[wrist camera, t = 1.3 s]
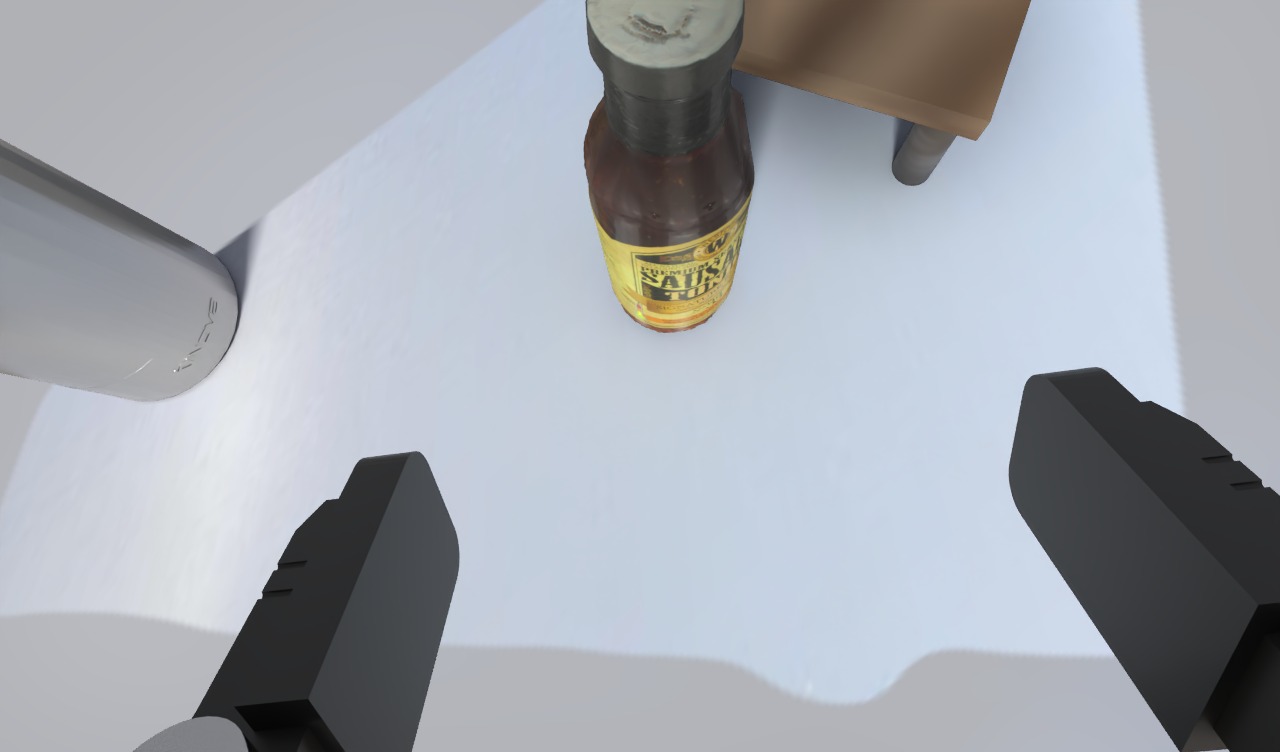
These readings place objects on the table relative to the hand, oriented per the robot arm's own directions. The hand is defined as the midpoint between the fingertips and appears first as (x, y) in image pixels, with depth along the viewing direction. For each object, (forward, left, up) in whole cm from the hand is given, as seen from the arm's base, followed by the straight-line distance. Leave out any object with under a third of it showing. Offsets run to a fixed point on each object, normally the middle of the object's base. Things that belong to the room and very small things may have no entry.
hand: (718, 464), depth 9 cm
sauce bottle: (-5, +10, -25) cm, 28 cm away
